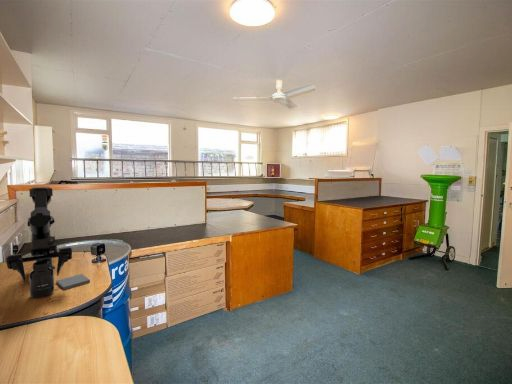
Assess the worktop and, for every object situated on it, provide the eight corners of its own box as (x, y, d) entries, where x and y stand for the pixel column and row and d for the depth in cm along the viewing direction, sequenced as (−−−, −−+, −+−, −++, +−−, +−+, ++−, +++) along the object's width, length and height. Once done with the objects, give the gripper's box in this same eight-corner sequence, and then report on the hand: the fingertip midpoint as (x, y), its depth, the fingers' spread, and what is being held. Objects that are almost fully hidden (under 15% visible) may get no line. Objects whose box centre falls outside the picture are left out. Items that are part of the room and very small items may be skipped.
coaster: (56, 282, 104) (56, 280, 104) (81, 276, 111) (81, 273, 111) (63, 289, 99) (63, 287, 98) (89, 281, 106) (89, 279, 106)
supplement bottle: (40, 299, 91) (39, 267, 90) (25, 297, 92) (23, 265, 91) (59, 291, 97) (57, 260, 96) (44, 289, 99) (42, 258, 98)
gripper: (5, 233, 90) (2, 274, 82) (70, 226, 102) (73, 262, 94) (9, 249, 97) (7, 288, 89) (70, 241, 108) (73, 275, 101)
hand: (41, 278), depth 93 cm, fingers open, 9 cm apart
